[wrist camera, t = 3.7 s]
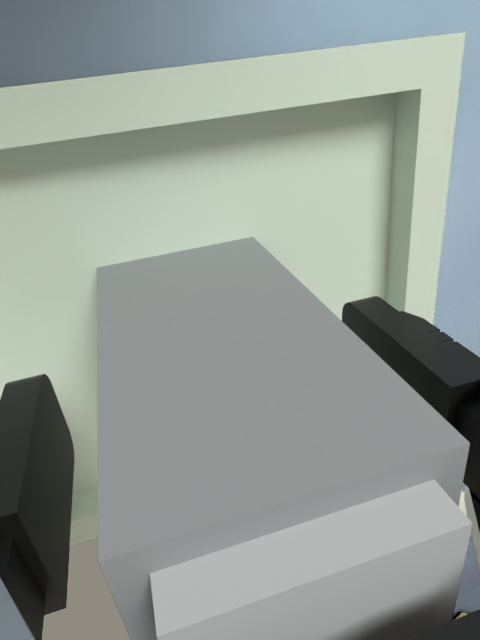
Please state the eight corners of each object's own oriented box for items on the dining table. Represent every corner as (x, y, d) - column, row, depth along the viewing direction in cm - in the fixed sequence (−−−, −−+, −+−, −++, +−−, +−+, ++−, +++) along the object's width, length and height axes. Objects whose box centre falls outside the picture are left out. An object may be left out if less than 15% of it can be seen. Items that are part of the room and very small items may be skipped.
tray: (411, 40, 12) (465, 32, 10) (388, 403, 17) (420, 438, 16) (-211, 115, 9) (-282, 121, 7) (4, 514, 15) (-7, 570, 13)
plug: (253, 236, 12) (513, 483, 4) (265, 363, 14) (461, 683, 6) (97, 267, 11) (98, 627, 4) (133, 396, 13) (181, 803, 6)
